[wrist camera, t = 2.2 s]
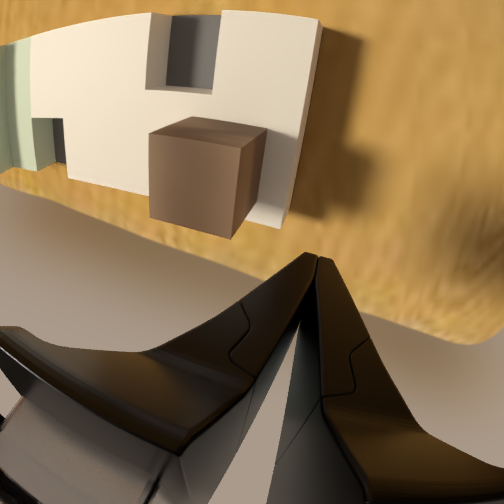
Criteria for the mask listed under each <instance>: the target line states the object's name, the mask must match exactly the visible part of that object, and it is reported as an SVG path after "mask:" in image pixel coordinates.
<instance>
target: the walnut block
mask: <svg viewBox="0 0 504 504" xmlns="http://www.w3.org/2000/svg"><path fill="white" fill-rule="evenodd" d="M267 130H268V128H263V127H257V126H252V125H247V124H241V123H235V122H229V121H222V120H216V119H209V118H202V117H194V116H191V117H189V118H186V119H183V120H181V121H178V122H175V123H173V124H170V125H168V126H165V127H163V128H160V129H158V130H156V131H153V132H151V133H149V142H148V169H149V209H150V218H153V219H157V220H161V221H164V222H168V223H172V224H175V225H179V226H183V227H187V228H190V229H194V230H198V231H201V232H205V233H209V234H212V235H216V236H220V237H223V238H227V239H231V238H232V237H233V235H234V234H235V233H236V231H237V230H238V228H239V227H240V225H241V224H242V222H243V221H244V219H245V218H246V217H247V215H248V214H249V212H250V211H251V209H252V208H253V206H254V205H255V204H256V202H257V197H258V190H259V183H260V177H261V170H262V163H263V157H264V150H265V143H266V137H267Z"/></svg>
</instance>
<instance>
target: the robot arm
mask: <svg viewBox="0 0 504 504" xmlns="http://www.w3.org/2000/svg"><path fill="white" fill-rule="evenodd" d="M299 323H300V324H299ZM298 326H299V328H298ZM297 328H298V334H297V341H296V348H295V355H294V361H293V367H292V373H291V380H290V386H289V392H288V397H287V403H286V409H285V414H284V420H283V425H282V431H281V436H280V441H279V446H278V451H277V456H276V462H275V467H274V471H273V475H272V480H271V485H270V489H269V494H268V499H267V503H266V504H504V468H500V467H496V466H493V465H490V464H488V463H485V462H483V461H481V460H479V459H477V458H475V457H473V456H471V455H469V454H467V453H465V452H462V451H460V450H459V449H456V448H455V447H453V446H451V445H449V444H447V443H445V442H443V441H441V440H439V439H437V438H435V437H433V436H432V435H430V434H428V433H427V432H426V431H425V430H423V428H422V427H421V426H420V425H419V424H418V423H417V421H416V420H415V418H414V417H413V415H412V413H411V412H410V410H409V408H408V406H407V405H406V403H405V401H404V399H403V398H402V396H401V394H400V393H399V391H398V389H397V387H396V386H395V384H394V382H393V380H392V379H391V377H390V375H389V373H388V371H387V370H386V368H385V366H384V364H383V362H382V360H381V358H380V356H379V354H378V352H377V350H376V348H375V346H374V343H373V341H372V339H370V335H369V333H368V331H367V328H366V327H365V324H364V322H363V320H362V318H361V316H360V314H359V311H358V309H357V307H356V305H355V303H354V301H353V299H352V297H351V295H350V293H349V291H348V289H347V287H346V285H345V283H344V281H343V279H342V277H341V275H340V273H339V271H338V269H337V267H336V265H335V263H334V261H333V260H332V259H330V258H326V257H322V256H320V257H319V258H318V256H317V255H315V254H311V253H308V252H304V253H303V254H301V255H300V256H299V257H297V258H296V259H295V260H293V261H292V262H291V263H289V264H288V265H287V266H285V267H284V268H283V269H281V270H280V271H278V272H277V273H276V274H274V275H273V276H272V277H270V278H269V279H268V280H266V281H265V282H264V283H262V284H261V285H259V286H258V287H257V288H255V289H254V290H253V291H251V292H250V293H249V294H247V295H246V296H244V297H243V298H242V299H240V300H239V302H236V303H235V304H233V305H232V306H230V307H229V308H228V309H226V310H225V311H223V312H221V313H220V314H219V315H217V316H215V317H214V318H212V319H210V320H208V321H207V322H205V323H203V324H201V325H199V326H197V327H195V328H194V329H192V330H190V331H188V332H186V333H184V334H182V335H180V336H178V337H176V338H174V339H172V340H170V341H168V342H166V343H164V344H162V345H160V346H158V347H156V348H153V349H150V350H147V351H142V352H118V351H103V350H91V349H79V348H69V347H63V346H57V345H54V344H50V343H48V342H45V341H43V340H41V339H39V338H37V337H36V336H34V335H33V334H31V333H30V332H28V331H27V330H25V329H23V328H21V327H17V326H0V369H1V370H2V371H3V373H4V374H5V376H6V377H7V378H8V379H9V381H10V382H11V383H12V385H13V386H14V387H15V388H16V390H17V391H18V392H19V393H20V395H21V396H22V397H21V398H20V399H19V400H18V402H17V403H16V404H15V406H14V407H13V408H12V410H11V411H10V413H9V414H8V415H7V417H6V418H4V417H3V416H2V415H1V414H0V504H208V502H209V500H210V499H211V497H212V495H213V494H214V492H215V490H216V488H217V487H218V485H219V483H220V481H221V480H222V478H223V476H224V474H225V473H226V471H227V469H228V467H229V465H230V464H231V462H232V460H233V458H234V456H235V454H236V453H237V451H238V449H239V447H240V445H241V443H242V442H243V440H244V438H245V436H246V434H247V432H248V430H249V428H250V426H251V424H252V423H253V420H254V419H255V417H256V415H257V413H258V411H259V409H260V407H261V405H262V403H263V401H264V399H265V397H266V395H267V393H268V391H269V389H270V387H271V385H272V383H273V380H274V378H275V376H276V374H277V372H278V370H279V368H280V366H281V364H282V362H283V360H284V357H285V355H286V353H287V351H288V349H289V347H290V344H291V342H292V340H293V337H294V335H295V333H296V331H297Z"/></svg>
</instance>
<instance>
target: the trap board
mask: <svg viewBox="0 0 504 504" xmlns="http://www.w3.org/2000/svg"><path fill="white" fill-rule="evenodd" d="M322 30H323V26H322V24H321V23H320V21H319V20H318V19H313V18H307V17H300V16H293V15H285V14H276V13H266V12H254V11H237V10H222V15H181V16H170V15H164V14H158V13H152V12H151V13H141V14H132V15H125V16H118V17H111V18H105V19H100V20H94V21H89V22H84V23H80V24H75V25H71V26H67V27H62V28H59V29H55V30H51V31H47V32H44V33H40V34H37V35H34V36H31V37H27V38H24V39H21V40H18V41H16V42H13V43H10V44H7V45H3V46H0V174H1V173H3V172H5V171H6V170H8V169H10V168H12V167H17V168H22V169H27V170H32V171H39V170H41V169H43V168H45V167H47V166H49V165H51V164H53V163H55V162H60V163H66V164H67V172H68V178H71V179H75V180H80V181H84V182H89V183H93V184H98V185H102V186H107V187H111V188H116V189H120V190H124V191H129V192H133V193H137V194H142V195H146V196H149V169H148V142H149V133H151V132H153V131H156V130H158V129H160V128H163V127H165V126H168V125H170V124H173V123H175V122H178V121H181V120H183V119H186V118H189V117H191V116H194V117H202V118H209V119H216V120H222V121H229V122H235V123H241V124H247V125H252V126H257V127H263V128H268V130H267V137H266V143H265V150H264V157H263V163H262V170H261V177H260V183H259V190H258V197H257V202H256V204H255V205H254V206H253V208H252V209H251V211H250V212H249V214H248V215H247V217H246V218H245V219H244V220H247V221H251V222H255V223H259V224H263V225H266V226H270V227H274V228H278V229H281V227H282V224H283V222H284V220H285V218H286V216H287V213H288V211H289V208H290V203H291V198H292V193H293V188H294V183H295V178H296V173H297V168H298V163H299V158H300V153H301V148H302V142H303V137H304V132H305V126H306V121H307V116H308V110H309V105H310V99H311V94H312V88H313V83H314V77H315V71H316V65H317V60H318V54H319V48H320V42H321V36H322Z"/></svg>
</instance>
